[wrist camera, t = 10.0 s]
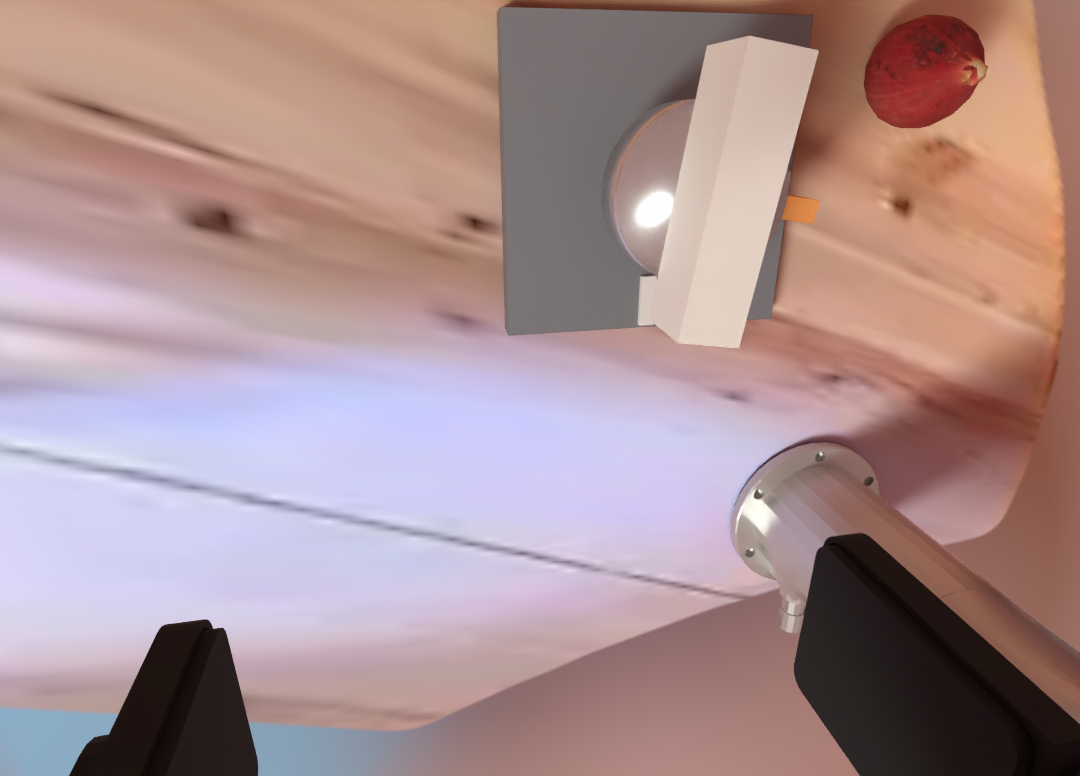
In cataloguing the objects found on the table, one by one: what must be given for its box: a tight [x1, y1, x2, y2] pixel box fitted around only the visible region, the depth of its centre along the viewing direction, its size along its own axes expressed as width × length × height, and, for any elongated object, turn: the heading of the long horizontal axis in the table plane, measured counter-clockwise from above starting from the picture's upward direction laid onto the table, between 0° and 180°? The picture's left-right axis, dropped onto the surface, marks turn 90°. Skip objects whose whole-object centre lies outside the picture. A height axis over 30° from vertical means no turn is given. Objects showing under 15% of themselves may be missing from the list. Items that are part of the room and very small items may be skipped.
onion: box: [864, 15, 988, 128], centre depth 37 cm, size 6×6×8 cm
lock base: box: [497, 7, 813, 336], centre depth 38 cm, size 18×18×6 cm
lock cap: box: [601, 36, 819, 348], centre depth 32 cm, size 11×13×7 cm
